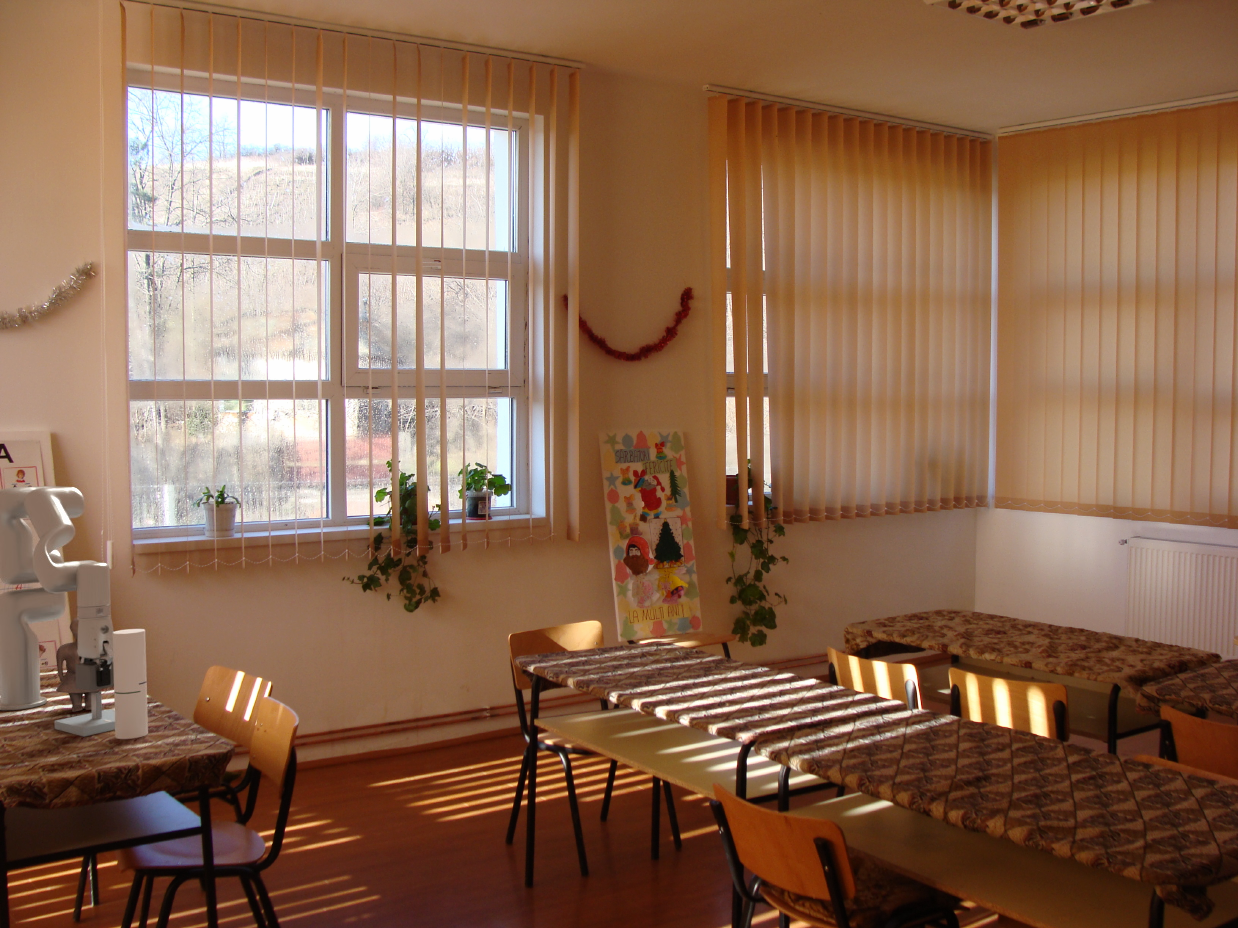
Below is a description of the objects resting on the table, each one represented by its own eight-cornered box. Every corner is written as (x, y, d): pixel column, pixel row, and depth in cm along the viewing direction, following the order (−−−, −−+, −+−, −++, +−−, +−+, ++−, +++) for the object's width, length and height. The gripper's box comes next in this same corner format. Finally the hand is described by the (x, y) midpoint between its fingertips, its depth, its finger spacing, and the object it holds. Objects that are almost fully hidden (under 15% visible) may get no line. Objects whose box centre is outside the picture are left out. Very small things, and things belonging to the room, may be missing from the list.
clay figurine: (55, 716, 279) (53, 620, 279) (57, 708, 288) (54, 615, 288) (110, 709, 284) (108, 616, 284) (110, 702, 293) (108, 611, 293)
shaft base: (54, 728, 265) (53, 694, 265) (109, 716, 276) (108, 684, 276) (83, 736, 257) (82, 701, 257) (139, 723, 268) (138, 689, 268)
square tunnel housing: (102, 683, 271) (101, 659, 271) (115, 685, 267) (115, 661, 267) (76, 688, 266) (75, 663, 266) (89, 690, 262) (89, 666, 262)
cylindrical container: (154, 732, 259) (151, 629, 259) (132, 739, 253) (129, 634, 252) (131, 730, 262) (128, 628, 262) (108, 737, 255) (105, 633, 255)
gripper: (127, 612, 264) (129, 684, 264) (91, 608, 275) (93, 677, 275) (97, 616, 258) (99, 690, 258) (61, 612, 268) (63, 683, 269)
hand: (96, 683), depth 266 cm, fingers closed on square tunnel housing, 6 cm apart
